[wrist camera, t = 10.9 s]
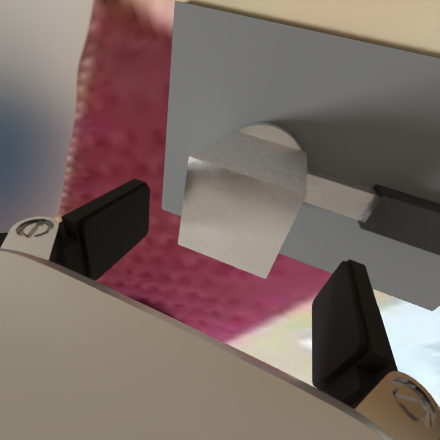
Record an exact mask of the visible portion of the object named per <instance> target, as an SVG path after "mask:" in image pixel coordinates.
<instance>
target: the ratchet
mask: <svg viewBox="0 0 440 440" xmlns="http://www.w3.org/2000/svg"><path fill="white" fill-rule="evenodd" d="M238 132H241V133H245V134H248V135H251V136H255V137H258V138H261V139H265V140H268V141H271V142H275V143H278V144H281V145H285V146H288V147H291V148H295V149H298V150H302V151H304V148H303V146H302V144H301V142H300V140H299V139H298V138H297V136H296V135H295V134H294V133H293V132H292V131H290V130H289V129H288V128H286V127H284V126H282V125H280V124H277V123H273V122H255V123H251V124H249V125H246V126H244V127H242V128H241V129H239V130H238ZM304 202H306V203H309V204H312V205H315V206H318V207H321V208H324V209H327V210H330V211H333V212H336V213H339V214H342V215H345V216H348V217H350V218H353V219H356V220H358V223H359V226H360V228H361V229H364V230H367V231H370V232H373V233H376V234H378V235H381V236H384V237H387V238H390V239H393V240H396V241H399V242H402V243H405V244H408V245H411V246H414V247H417V248H420V249H422V250H425V251H428V252H431V253H434V254H437V255H440V204H439V203H436V202H433V201H430V200H426V199H423V198H420V197H417V196H413V195H410V194H407V193H404V192H401V191H397V190H394V189H391V188H388V187H384V186H381V185H378V184H375V186H374V187H371V186H367V185H364V184H361V183H358V182H354V181H351V180H348V179H345V178H342V177H338V176H335V175H332V174H329V173H326V172H322V171H319V170H316V169H313V168H310V167H307V195H306V198H305V200H304Z"/></svg>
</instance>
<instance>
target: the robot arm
mask: <svg viewBox="0 0 440 440" xmlns="http://www.w3.org/2000/svg"><path fill="white" fill-rule="evenodd" d="M149 199H150V188H149V187H148V186H147V183H145V182H142V181H140V180H137V179H133V180H131V181H129V182H127V183H125V184H123V185H122V186H120V187H118V188H116V189H114V190H112V191H110V192H108V193H106V194H104V195H102V196H100V197H98V198H97V199H95V200H93V201H91V202H89V203H87V204H85V205H83V206H81V207H79V208H77V209H75V210H73V211H72V212H70V213H68V214H66V215H64V216H62V220H63V221H62V222H60V223H58V222H57V220H55V219H53V218H49V217H32V218H28V219H24V220H22V221H20V222H18V223H16V224H15V225H14V226H13V227H12V228H11V229H10V231H9V233H0V440H440V408H439V406H438V405H437V403H436V402H435V400H434V399H433V397H432V396H431V395H430V393H429V392H428V391H427V390H426V389H425V388H424V387H423V386H422V385H421V384H420V383H419V382H417V381H416V380H415V379H414V378H412V377H410V376H409V375H407V374H405V373H402V372H399V371H398V370H397V367H396V363H395V360H394V357H393V353H392V350H391V347H390V344H389V340H388V337H387V334H386V330H385V327H384V324H383V321H382V317H381V314H380V311H379V308H378V306H377V302H376V299H375V296H374V292H373V289H372V286H371V283H370V279H369V276H368V273H367V269H366V266H365V265H364V264H361V263H358V262H356V261H353V260H348V261H347V262H346V261H342V262H341V263H340V265H339V266H338V267H337V269H336V270H335V271H334V273H333V274H332V276H331V277H330V278H329V280H328V281H327V282H326V284H325V285H324V286H323V288H322V289H321V291H320V292H319V293H318V295H317V296H316V297H315V299H314V301H313V304H312V382H313V385H314V386H315V387H317V389H316V388H315V387H313V386H311V385H309V384H307V383H305V382H303V381H301V380H299V379H297V378H295V377H293V376H291V375H289V374H287V373H285V372H283V371H281V370H279V369H277V368H275V367H273V366H271V365H269V364H267V363H265V362H262V361H260V360H258V359H256V358H254V357H252V356H250V355H248V354H246V353H244V352H242V351H240V350H238V349H236V348H234V347H232V346H230V345H228V344H225V343H223V342H221V341H219V340H217V339H215V338H213V337H211V336H209V335H207V334H205V333H203V332H201V331H199V330H196V329H194V328H192V327H190V326H188V325H186V324H184V323H182V322H180V321H178V320H176V319H174V318H172V317H169V316H167V315H165V314H163V313H161V312H159V311H157V310H155V309H153V308H151V307H149V306H146V305H144V304H142V303H140V302H138V301H136V300H134V299H132V298H130V297H127V296H125V295H123V294H121V293H119V292H117V291H115V290H113V289H111V288H108V287H106V286H104V285H102V284H100V283H98V282H96V281H94V280H97V279H98V278H100V277H101V276H102V275H103V274H104V273H105V272H106V271H107V270H109V269H110V268H111V267H112V266H113V265H114V264H115V263H116V262H117V261H119V260H120V259H121V258H122V257H123V256H124V255H125V254H126V253H127V252H129V251H130V250H131V249H132V248H133V247H134V246H135V245H136V244H137V243H139V242H140V241H141V240H142V239H143V238H144V237H145V236H146V235H147V233H148V229H149Z"/></svg>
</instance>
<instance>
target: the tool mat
mask: <svg viewBox="0 0 440 440" xmlns="http://www.w3.org/2000/svg"><path fill="white" fill-rule="evenodd" d="M255 122H273V123H277V124H280V125H282V126H284V127H286V128H288V129H289V130H290V131H292V132H293V133H294V134H295V135H296V136H297V138H298V139H299V140H300V142H301V144H302V146H303V148H304V151H305V152H307V167H310V168H313V169H316V170H319V171H322V172H326V173H329V174H332V175H335V176H338V177H342V178H345V179H348V180H351V181H354V182H358V183H361V184H364V185H367V186H371V187H374V186H375V184H378V185H381V186H384V187H388V188H391V189H394V190H397V191H401V192H404V193H407V194H410V195H413V196H417V197H420V198H423V199H426V200H430V201H433V202H436V203H439V204H440V58H436V57H431V56H427V55H422V54H418V53H413V52H408V51H404V50H399V49H395V48H390V47H385V46H381V45H376V44H372V43H367V42H362V41H358V40H353V39H349V38H344V37H339V36H335V35H330V34H326V33H321V32H317V31H312V30H307V29H303V28H298V27H294V26H289V25H284V24H280V23H275V22H271V21H266V20H261V19H257V18H252V17H248V16H243V15H238V14H234V13H229V12H225V11H220V10H215V9H211V8H206V7H202V6H197V5H192V4H188V3H183V2H179V1H175V9H174V25H173V40H172V56H171V72H170V87H169V103H168V119H167V134H166V150H165V166H164V181H163V197H162V209H163V210H166V211H168V212H171V213H174V214H176V215H179V216H182V208H183V200H184V192H185V184H186V175H187V167H188V159H189V156H190V155H192V154H193V153H195V152H197V151H198V150H200V149H201V148H203V147H205V146H206V145H208V144H209V143H211V142H212V141H214V140H216V139H217V138H219V137H220V136H222V135H224V134H225V133H227V132H228V131H230V130H234V131H238V130H239V129H241V128H242V127H244V126H246V125H249V124H251V123H255ZM279 253H280V254H282V255H285V256H288V257H290V258H293V259H296V260H298V261H301V262H304V263H306V264H309V265H312V266H314V267H317V268H319V269H322V270H325V271H327V272H330V273H334V271H335V270H336V269H337V267H338V266H339V265H340V263H341V262H342V261H346V262H347V261H348V260H353V261H356V262H358V263H361V264H364V265H365V266H366V269H367V273H368V276H369V279H370V283H371V286H372V289H375V290H378V291H380V292H383V293H386V294H388V295H391V296H394V297H396V298H399V299H402V300H404V301H407V302H410V303H412V304H415V305H418V306H420V307H423V308H425V309H428V310H431V311H433V310H435V309H436V308H437V307H439V306H440V255H437V254H434V253H431V252H428V251H425V250H422V249H420V248H417V247H414V246H411V245H408V244H405V243H402V242H399V241H396V240H393V239H390V238H387V237H384V236H381V235H378V234H376V233H373V232H370V231H367V230H364V229H361V228H360V226H359V223H358V220H356V219H353V218H350V217H348V216H345V215H342V214H339V213H336V212H333V211H330V210H327V209H324V208H321V207H318V206H315V205H312V204H309V203H306V202H303V204H302V206H301V208H300V210H299V212H298V214H297V216H296V218H295V220H294V222H293V224H292V226H291V228H290V230H289V232H288V234H287V236H286V239H285V241H284V243H283V245H282V247H281V249H280V251H279Z"/></svg>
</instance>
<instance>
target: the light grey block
mask: <svg viewBox="0 0 440 440" xmlns="http://www.w3.org/2000/svg"><path fill="white" fill-rule="evenodd" d="M306 195H307V152H305V151H302V150H298V149H295V148H291V147H288V146H285V145H281V144H278V143H275V142H271V141H268V140H265V139H261V138H258V137H255V136H251V135H248V134H245V133H241V132H238V131H234V130H230V131H228V132H227V133H225V134H224V135H222V136H220V137H219V138H217V139H216V140H214V141H212V142H211V143H209V144H208V145H206V146H205V147H203V148H201V149H200V150H198V151H197V152H195V153H193V154H192V155H190V156H189V159H188V167H187V175H186V184H185V192H184V200H183V208H182V216H181V224H180V232H179V240H178V244H179V245H181V246H184V247H186V248H189V249H191V250H194V251H196V252H199V253H201V254H204V255H206V256H209V257H212V258H214V259H217V260H219V261H222V262H224V263H227V264H229V265H232V266H234V267H237V268H239V269H242V270H244V271H247V272H249V273H252V274H254V275H257V276H259V277H262V278H264V279H266V277H267V275H268V273H269V271H270V269H271V267H272V265H273V263H274V261H275V259H276V257H277V255H278V253H279V251H280V249H281V247H282V245H283V243H284V241H285V239H286V236H287V234H288V232H289V230H290V228H291V226H292V224H293V222H294V220H295V218H296V216H297V214H298V212H299V210H300V208H301V206H302V204H303V202H304V200H305V198H306Z"/></svg>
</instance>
